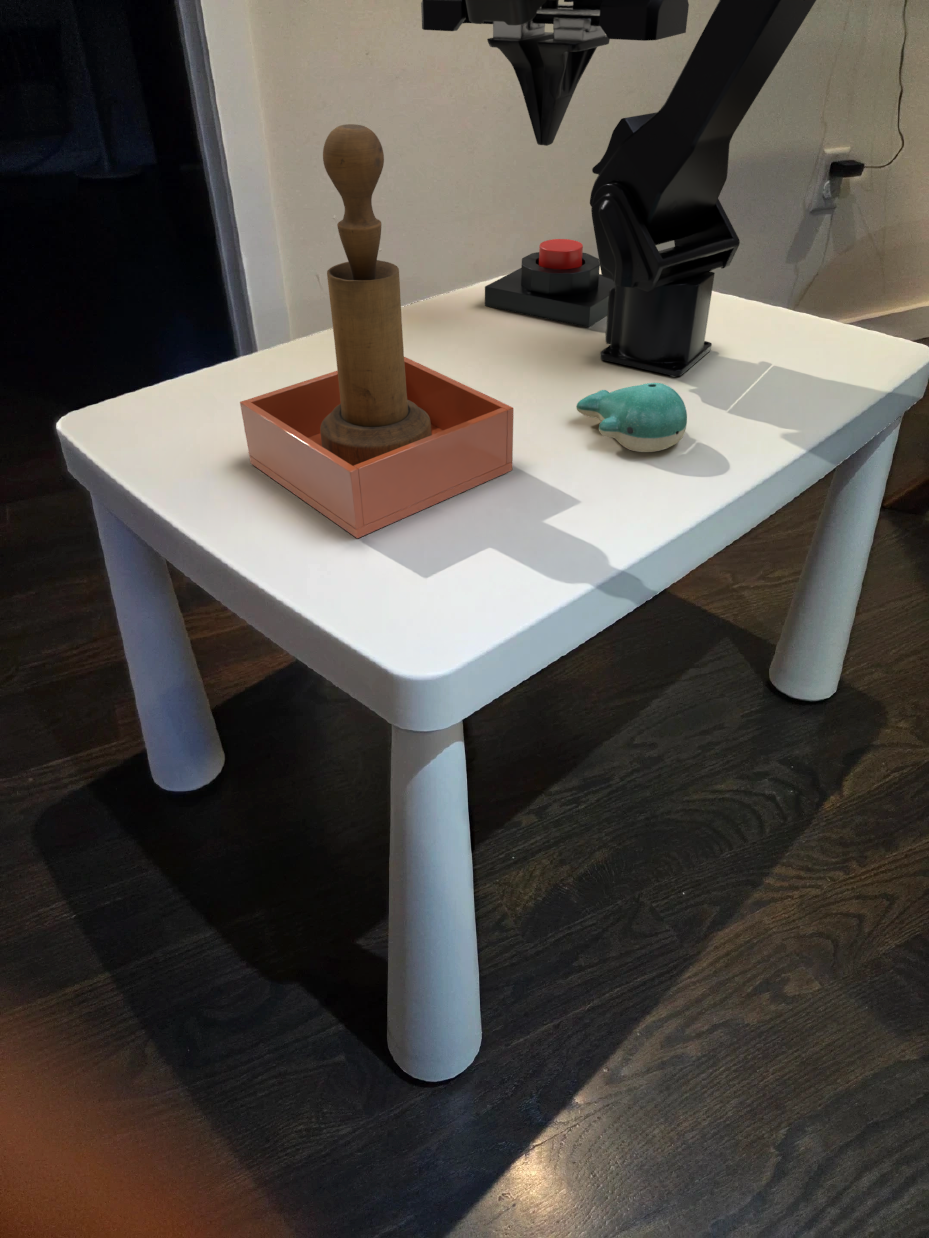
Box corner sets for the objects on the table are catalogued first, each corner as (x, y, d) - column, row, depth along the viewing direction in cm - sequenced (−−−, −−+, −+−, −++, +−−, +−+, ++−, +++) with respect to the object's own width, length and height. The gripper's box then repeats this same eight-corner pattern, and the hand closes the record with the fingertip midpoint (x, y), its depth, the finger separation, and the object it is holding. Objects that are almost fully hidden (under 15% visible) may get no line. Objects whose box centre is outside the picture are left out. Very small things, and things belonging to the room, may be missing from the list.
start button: (589, 264, 77) (590, 242, 76) (568, 275, 75) (570, 253, 74) (551, 257, 79) (552, 236, 78) (530, 268, 76) (531, 247, 75)
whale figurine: (643, 469, 55) (650, 411, 53) (556, 429, 60) (559, 374, 57) (703, 439, 58) (712, 383, 56) (616, 403, 63) (621, 350, 60)
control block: (631, 299, 79) (635, 258, 77) (588, 328, 74) (591, 284, 72) (531, 280, 84) (532, 241, 81) (484, 306, 78) (484, 264, 76)
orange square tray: (398, 409, 62) (394, 351, 60) (512, 470, 55) (514, 407, 53) (250, 463, 57) (239, 401, 54) (357, 538, 50) (350, 471, 47)
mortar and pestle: (405, 424, 59) (386, 110, 48) (450, 466, 55) (441, 129, 44) (308, 447, 57) (265, 123, 46) (347, 493, 52) (309, 144, 41)
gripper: (367, -114, 59) (384, 152, 69) (632, -124, 51) (609, 180, 60) (461, -113, 66) (464, 127, 76) (706, -122, 58) (675, 149, 68)
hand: (545, 144), depth 70 cm, fingers closed
